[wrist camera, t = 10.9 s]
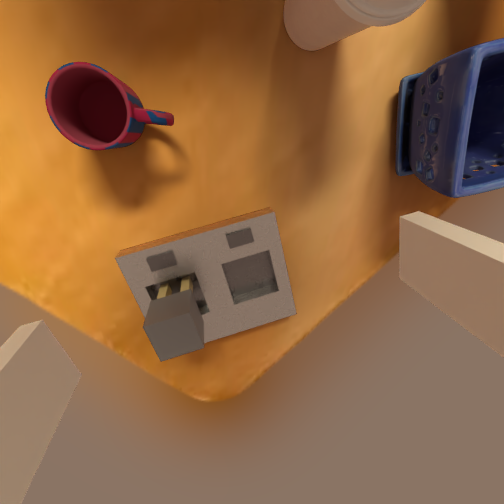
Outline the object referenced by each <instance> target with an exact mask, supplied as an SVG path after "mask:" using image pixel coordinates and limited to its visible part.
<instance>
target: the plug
mask: <svg viewBox="0 0 504 504" xmlns="http://www.w3.org/2000/svg"><path fill="white" fill-rule="evenodd" d="M171 294H172V290H171V288H170V286H169V283H166V284H163V285H160V288H159V292H158V296H157V299H156V300H152V301H150V304H149V308H148V311H147V315H146V318H145V321H144V325H143V328H144V330H145V332H146V334H147V336H148V338H149V340H150V342H151V344H152V346H153V348H154V350H155V351H156V353H157V355H158V357H159V359H160V361H165V360H168V359H171V358H174V357H177V356H180V355H183V354H186V353H190V352H193V351H196V350H199V349H202V348H204V321H203V318H202V316H201V313H200V311H199V308H198V306H197V303H196V300H195V298H194V295H193V284H192V281H191V278H190V276H189V277H186V278H183V279H182V282H181V290H180V292H179V293H175V294H172V295H171Z"/></svg>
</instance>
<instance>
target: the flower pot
mask: <svg viewBox="0 0 504 504" xmlns="http://www.w3.org/2000/svg"><path fill="white" fill-rule="evenodd" d="M491 165H499V166H497V167H493V166H491ZM472 170H479V171H472ZM396 173H397V175H398V176H405V175H411V174H415V175H416V176H417V177H418V178H419V179H420V180H421V181H422V182H423V183H424V184H425V185H427V186H428V187H430V188H431V189H433V190H435V191H437V192H439V193H441V194H443V195H446V196H449V197H453V198H458V197H464V196H470V195H474V194H478V193H483V192H487V191H491V190H495V189H499V188H502V187H504V38H502V39H497V40H493V41H489V42H485V43H482V44H479V45H476V46H473V47H470V48H467V49H464V50H462V51H459V52H457V53H455V54H453V55H450V56H448V57H446V58H444V59H442V60H440V61H438V62H437V63H435V64H434V65H432V66H431V67H429V68H428V69H427V70H426V71H425V72H422V73H417V74H413V75H409V76H406V77H404V78H403V79H402V80H401V82H400V86H399V97H398V112H397V132H396ZM462 178H465V179H462Z"/></svg>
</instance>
